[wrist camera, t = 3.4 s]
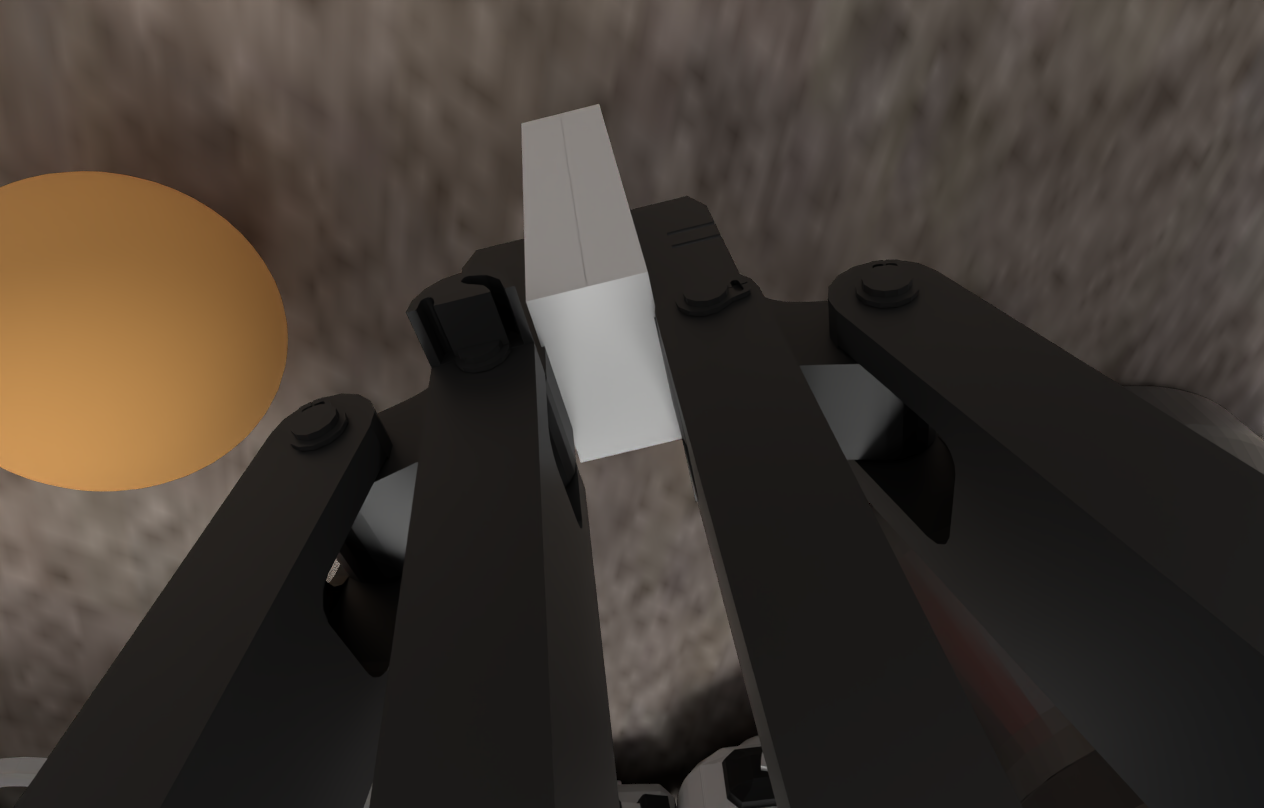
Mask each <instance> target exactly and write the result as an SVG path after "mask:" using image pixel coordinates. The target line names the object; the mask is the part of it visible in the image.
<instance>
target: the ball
mask: <svg viewBox="0 0 1264 808" xmlns="http://www.w3.org/2000/svg"><path fill="white" fill-rule="evenodd" d="M287 349H288V331H287V321H286V316H285V312H284V307H283V303H282V298H281V296H280V293H279V290H278V288H277V285H276V283H275V281H274V279H273V277H272V275H271V273H270V271H269V270H268V268H267V266H266V264H265V263H264V261H263V260H262V258H261V257H260V256H259V254H258V253H257V251H256V250H255V249H254V247H253V246H252V245H251V244H250V243H249V242H248V240H247V239H246V238H245V237H244V236H243V235H242V234H241V233H240V232H239V231H238V230H237V229H236V228H235V227H234V226H232V225H231V224H230V223H229V222H228V221H227V220H226V219H224V218H223V217H222V216H220V215H219V214H217V213H216V212H215V211H213V210H212V209H211V208H209V207H207V206H206V205H204V204H202V203H201V202H199V201H197V200H196V199H194V198H192V197H190V196H188V195H186V194H184V193H182V192H179V191H177V190H175V189H173V188H170V187H167V186H164V185H162V184H159V183H156V182H153V181H149V180H145V179H141V178H137V177H133V176H128V175H122V174H115V173H109V172H94V171H75V172H62V173H50V174H44V175H40V176H35V177H31V178H26V179H23V180H19V181H16V182H13V183H10V184H7V185H5V186H2V187H0V467H1V468H3V469H5V470H7V471H10V472H12V473H14V474H17V475H19V476H22V477H25V478H27V479H31V480H34V481H37V482H41V483H45V484H49V485H54V486H58V487H63V488H69V489H76V490H84V491H121V490H131V489H140V488H146V487H151V486H155V485H160V484H163V483H166V482H170V481H173V480H176V479H179V478H182V477H185V476H188V475H190V474H192V473H194V472H196V471H198V470H200V469H202V468H204V467H206V466H208V465H210V464H212V463H213V462H215V461H216V460H218V459H219V458H221V457H222V456H224V455H225V454H227V453H228V452H229V451H231V450H232V449H233V448H234V447H236V446H237V445H238V444H239V443H240V442H241V441H242V440H243V439H245V438H246V437H247V436H248V435H249V434H250V432H251V431H252V430H253V429H254V428H255V427H256V425H257V424H258V423H259V421H260V420H261V419H262V418H263V416H264V415H265V414H266V412H267V410H268V408H269V406H270V405H271V403H272V401H273V399H274V397H275V395H276V393H277V391H278V389H279V386H280V382H281V379H282V376H283V372H284V369H285V365H286V358H287Z"/></svg>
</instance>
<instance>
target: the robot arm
mask: <svg viewBox="0 0 1264 808" xmlns="http://www.w3.org/2000/svg"><path fill="white" fill-rule="evenodd" d="M521 126H522V166H523V206H524V239H521V240H517V241H513V242H509V243H505V244H500V245H496V246H492V247H488V248H484V249H480V250H476V252H475V253H474V254H473V255H472V257H471V258H470V259H469V261H468V262H467V263H466V265H465V266H464V267H463V268H462V273H460V274H457V275H454V276H451V277H448V278H445V279H442V280H441V281H439V282H437V283H435V284H433V285H432V286H430V287H428V288H426V289H425V290H424V291H423V292H421V293H420V294H419V295H418V296H417V297H416V298H415V299H414V300H412V302H411V304H410V306H409V308H408V310H407V312H406V314H407V316H408V318H409V320H410V322H411V324H412V326H413V329H414V331H415V333H416V335H417V337H418V339H419V342H420V344H421V346H422V348H423V350H424V352H425V354H426V357H427V359H428V361H429V363H430V365H431V367H432V368H431V375H430V382H429V387H428V388H427V389H426V390H424V391H423V392H421V393H420V394H418V395H416V396H414V397H412V398H410V399H408V400H406V401H404V402H402V403H400V404H398V405H395V406H393V407H391V408H389V409H386V410H384V411H382V412H380V413H378V414H377V412H376V410H375V409H374V407H373V405H372V403H371V401H370V400H368V399H366V398H364V397H362V396H361V395H358V394H338V395H334V396H329V397H323V398H320V399H317V400H314V401H313V402H312V403H311V402H310V403H308V404H306V405H304V406H302V407H300V408H299V409H298V410H297V411H295V412H294V413H292V414H291V415H290V416H288V417H287V418H285V419H284V420H283V421H282V422H281V423H280V424H279V425H278V426H277V428H276V429H275V430H274V431H273V432H272V433H271V434H270V436H269V437H268V439H267V440H266V441H265V443H264V444H263V446H262V447H261V449H260V450H259V452H258V453H257V455H256V456H255V457H254V459H253V460H252V462H251V463H250V465H249V466H248V468H247V469H246V471H245V472H244V473H243V475H242V476H241V478H240V479H239V481H238V482H237V484H236V485H235V487H234V488H233V489H232V491H231V492H230V494H229V495H228V497H227V498H226V500H225V501H224V503H223V504H222V505H221V507H220V508H219V510H218V511H217V513H216V514H215V516H214V517H213V518H212V520H211V521H210V523H209V524H208V526H207V527H206V529H205V530H204V532H203V533H202V534H201V536H200V537H199V539H198V540H197V542H196V543H195V545H194V546H193V548H192V549H191V550H190V552H189V553H188V555H187V556H186V558H185V559H184V561H183V562H182V564H181V565H180V566H179V568H178V569H177V571H176V572H175V574H174V575H173V577H172V578H171V580H170V581H169V582H168V584H167V585H166V587H165V588H164V590H163V591H162V593H161V594H160V596H159V597H158V598H157V600H156V601H155V603H154V604H153V606H152V607H151V609H150V610H149V612H148V613H147V614H146V616H145V617H144V619H143V620H142V622H141V623H140V625H139V626H138V628H137V629H136V630H135V632H134V633H133V635H132V636H131V638H130V639H129V641H128V642H127V644H126V645H125V646H124V648H123V649H122V651H121V652H120V654H119V655H118V657H117V658H116V660H115V661H114V662H113V664H112V665H111V667H110V668H109V670H108V671H107V673H106V674H105V676H104V677H103V678H102V680H101V681H100V683H99V684H98V686H97V687H96V689H95V690H94V692H93V693H92V694H91V696H90V697H89V699H88V700H87V702H86V703H85V705H84V706H83V708H82V709H81V710H80V712H79V713H78V715H77V716H76V718H75V719H74V721H73V722H72V724H71V725H70V726H69V728H68V729H67V731H66V732H65V734H64V735H63V737H62V738H61V739H60V741H59V742H58V744H57V745H56V747H55V748H54V750H53V751H52V753H51V754H50V755H49V757H48V758H47V760H46V761H45V763H44V764H43V766H42V767H41V769H40V770H39V771H38V773H37V774H36V776H35V777H34V779H33V780H32V782H31V783H30V785H29V786H28V787H27V789H26V790H25V792H24V793H23V795H22V796H21V798H20V799H19V801H18V802H17V803H16V805H15V806H14V808H364V805H365V803H366V800H367V797H368V794H369V791H370V789H371V786H372V791H371V798H370V805H369V808H620V805H619V796H618V787H617V777H616V768H615V759H614V750H613V741H612V731H611V722H610V713H609V704H608V695H607V686H606V676H605V667H604V658H603V649H602V640H601V631H600V621H599V612H598V603H597V594H596V585H595V576H594V566H593V557H592V548H591V539H590V530H589V521H588V511H587V502H586V493H585V487H584V484H583V481H582V478H581V476H580V473H579V470H578V467H577V464H576V457H575V447H576V450H577V453H578V456H579V458H580V461H581V463H582V462H586V461H591V460H595V459H599V458H603V457H607V456H612V455H616V454H620V453H624V452H629V451H633V450H637V449H641V448H646V447H650V446H654V445H658V444H662V443H667V442H671V441H675V440H679V439H682V440H683V445H684V450H685V454H686V459H687V463H688V468H689V473H690V477H691V482H692V486H693V491H694V496H695V500H696V502H698V506H699V509H700V513H701V517H702V521H703V525H704V529H705V532H706V536H707V540H708V544H709V548H710V551H711V555H712V559H713V563H714V567H715V571H716V574H717V578H718V582H719V586H720V590H721V594H722V597H723V601H724V605H725V609H726V613H727V617H728V620H729V624H730V628H731V632H732V636H733V640H734V643H735V647H736V651H737V655H738V659H739V663H740V666H741V670H742V674H743V678H744V682H745V686H746V689H747V693H748V697H749V701H750V705H751V709H752V712H753V716H754V720H755V724H756V728H757V731H758V735H759V739H760V743H761V747H762V751H763V754H764V758H765V762H766V766H767V770H768V774H769V777H770V781H771V785H772V789H773V793H774V797H775V800H776V804H777V808H1264V441H1263V440H1262V439H1261V438H1260V437H1258V436H1257V435H1256V434H1255V433H1254V432H1252V431H1251V430H1250V429H1249V428H1248V427H1247V426H1245V425H1244V424H1243V423H1242V422H1241V421H1239V420H1238V419H1237V418H1236V417H1235V416H1233V415H1232V414H1231V413H1230V412H1228V411H1227V410H1226V409H1225V408H1223V407H1222V406H1220V405H1218V404H1217V403H1215V402H1213V401H1211V400H1209V399H1207V398H1205V397H1202V396H1200V395H1196V394H1193V393H1190V392H1186V391H1182V390H1177V389H1172V388H1164V387H1154V386H1121V385H1119V384H1118V383H1116V382H1114V381H1113V380H1111V379H1110V378H1108V377H1106V376H1105V375H1103V374H1102V373H1100V372H1098V371H1097V370H1095V369H1094V368H1092V367H1090V366H1089V365H1087V364H1086V363H1084V362H1082V361H1081V360H1079V359H1077V358H1076V357H1074V356H1073V355H1071V354H1069V353H1068V352H1066V351H1065V350H1063V349H1061V348H1060V347H1058V346H1057V345H1055V344H1053V343H1052V342H1050V341H1049V340H1047V339H1045V338H1044V337H1042V336H1041V335H1039V334H1037V333H1036V332H1034V331H1033V330H1031V329H1029V328H1028V327H1026V326H1024V325H1023V324H1021V323H1020V322H1018V321H1016V320H1015V319H1013V318H1012V317H1010V316H1008V315H1007V314H1005V313H1004V312H1002V311H1000V310H999V309H997V308H996V307H994V306H992V305H991V304H989V303H988V302H986V301H984V300H983V299H981V298H979V297H978V296H976V295H975V294H973V293H971V292H970V291H968V290H967V289H965V288H963V287H962V286H960V285H959V284H957V283H955V282H954V281H952V280H951V279H949V278H947V277H946V276H944V275H943V274H941V273H939V272H938V271H936V270H934V269H931V268H929V267H926V266H924V265H922V264H919V263H914V262H907V261H900V260H886V261H883V260H880V261H873V262H870V263H866V264H863V265H859V266H855V267H853V268H851V269H849V270H847V271H845V272H844V273H842V274H840V275H838V276H837V277H836V279H835V280H834V281H833V282H832V284H831V285H830V286H829V292H828V301H820V302H783V301H777V300H771V299H768V298H765V297H764V295H763V293H762V291H761V290H760V288H759V287H758V286H757V285H756V283H755V282H754V281H753V280H752V279H751V278H748V277H745V276H742V275H740V274H739V272H738V270H737V268H736V266H735V264H734V262H733V259H732V257H731V255H730V253H729V251H728V249H727V247H726V245H725V243H724V241H723V239H722V237H721V236H720V233H719V231H718V229H717V226H716V224H714V220H713V218H712V216H711V214H710V212H709V210H708V208H707V206H706V205H704V204H702V203H700V202H698V201H696V200H694V199H692V198H691V197H689V196H685V197H681V198H677V199H673V200H669V201H665V202H661V203H657V204H653V205H649V206H645V207H641V208H637V209H633V210H630V209H629V205H628V202H627V198H626V195H625V192H624V188H623V185H622V181H621V178H620V174H619V171H618V167H617V164H616V160H615V157H614V154H613V150H612V147H611V143H610V140H609V136H608V133H607V129H606V126H605V122H604V119H603V115H602V112H601V109H600V105H599V104H596V105H592V106H588V107H584V108H580V109H576V110H572V111H568V112H564V113H561V114H557V115H553V116H549V117H545V118H541V119H537V120H533V121H529V122H525V123H521ZM574 444H575V447H574ZM867 500H868V501H869V502H870V504H871V505H872V506H871V507H870V505H869V503H868V501H867ZM335 559H337V560H338V562H339V563H340V566H339V568H338V570H337V572H336V574H335V576H334V577H333V579H332V580H331V581H330V582H329V583H328V582H327V581H326V579H327V575H328V573H329V571H330V569H331V567H332V565H333V563H334V561H335ZM372 783H373V784H372Z"/></svg>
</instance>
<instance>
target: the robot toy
mask: <svg viewBox="0 0 1264 808" xmlns="http://www.w3.org/2000/svg"><path fill="white" fill-rule="evenodd" d="M617 787H618V796H619V805H620V808H777V804H776V800H775V797H774V793H773V789H772V785H771V781H770V777H769V774H768V770H767V766H766V762H765V758H764V754H763V751H762V747H761V743H760V739H759V735H757V736H754V737H751V738H749V739H747V740H746V741H744V742H743V743H742V744H740V745H739V746H735V747H726V748H721V749H719V750H718V751H716V752H715V753H713V754H712V755H710V756H709V757H707V758H706V759H704V760H703V761H701V762H699V763H698V764H697V765H696V767H695V768H694V769H693V770H692V771H691V772H690V773H689V775H688V776H687V777H686V778H685V780H684V782H683V783H682V786H681V788H680V791H679V794H678V799H677V807H676V803H675V799H674V797H673V796H672V795H671V794H670V793H669V792H668V791H667V790H666V789H664V788H663V787H662V786H661V785H660V784H622V785H621V781H620V780H617Z"/></svg>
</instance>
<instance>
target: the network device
mask: <svg viewBox="0 0 1264 808" xmlns="http://www.w3.org/2000/svg"><path fill="white" fill-rule="evenodd" d="M46 760H47V758H38V757H14V758H1V759H0V788H1V787H8V786H25V787H28V786H29V785H30V783H31V782H32V780H33V779H34V777H35V776H36V774H37V773H38V771H39V770H40V769H41V767H42V766H43V764H44V763H45V761H46ZM371 791H372V786H371V789H370V791H369V794H368V797H367V800H366V803H365V805H364V808H369V805H370V798H371Z"/></svg>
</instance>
